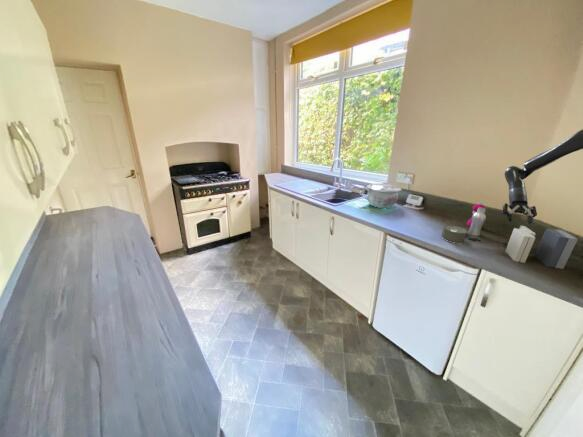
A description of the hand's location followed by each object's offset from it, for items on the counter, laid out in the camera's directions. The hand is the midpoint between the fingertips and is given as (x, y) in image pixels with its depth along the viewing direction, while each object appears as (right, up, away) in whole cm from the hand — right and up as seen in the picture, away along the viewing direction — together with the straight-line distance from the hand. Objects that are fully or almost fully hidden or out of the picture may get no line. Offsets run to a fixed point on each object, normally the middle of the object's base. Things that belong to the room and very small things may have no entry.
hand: (520, 222), depth 130 cm
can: (-29, -11, +13) cm, 33 cm away
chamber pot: (-50, +12, +73) cm, 89 cm away
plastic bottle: (-17, -11, +13) cm, 24 cm away
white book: (-3, -17, -3) cm, 17 cm away
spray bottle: (-8, -7, +25) cm, 27 cm away
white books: (-9, -18, -7) cm, 22 cm away
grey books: (+3, -20, -11) cm, 23 cm away
